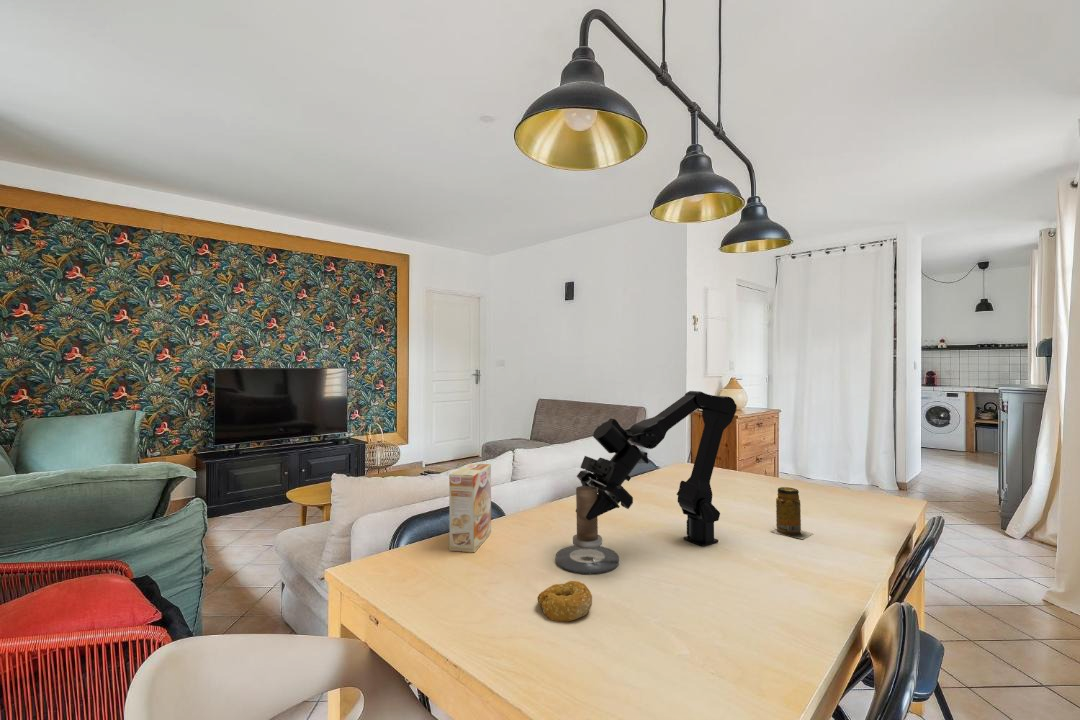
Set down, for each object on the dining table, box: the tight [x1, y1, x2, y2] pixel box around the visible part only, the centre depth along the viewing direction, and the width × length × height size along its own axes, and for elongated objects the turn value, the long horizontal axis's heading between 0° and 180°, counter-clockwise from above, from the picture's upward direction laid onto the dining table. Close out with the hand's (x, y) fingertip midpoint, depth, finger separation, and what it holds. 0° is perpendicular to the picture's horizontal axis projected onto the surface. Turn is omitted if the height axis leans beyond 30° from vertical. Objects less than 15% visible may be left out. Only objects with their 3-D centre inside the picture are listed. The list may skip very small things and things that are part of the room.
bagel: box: [536, 580, 593, 622], centre depth 94 cm, size 10×11×5 cm
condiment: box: [770, 486, 814, 540], centre depth 135 cm, size 7×8×12 cm
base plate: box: [555, 544, 620, 575], centre depth 117 cm, size 15×15×1 cm
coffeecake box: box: [448, 463, 492, 553], centre depth 131 cm, size 15×7×20 cm, turn 168°
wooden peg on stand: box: [572, 485, 603, 548], centre depth 117 cm, size 7×7×13 cm
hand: (581, 515), depth 116 cm, fingers closed on wooden peg on stand, 5 cm apart
